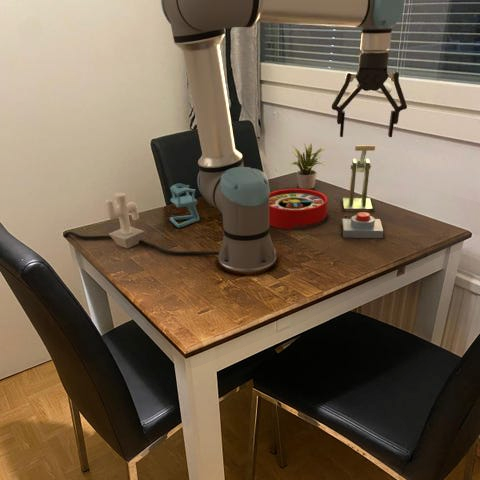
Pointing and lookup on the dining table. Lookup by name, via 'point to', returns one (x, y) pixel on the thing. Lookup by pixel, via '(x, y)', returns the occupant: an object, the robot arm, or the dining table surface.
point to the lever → (363, 155)
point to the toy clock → (296, 207)
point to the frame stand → (362, 202)
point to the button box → (362, 228)
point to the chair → (184, 204)
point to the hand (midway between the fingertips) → (365, 136)
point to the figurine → (124, 221)
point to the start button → (363, 216)
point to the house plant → (307, 167)
